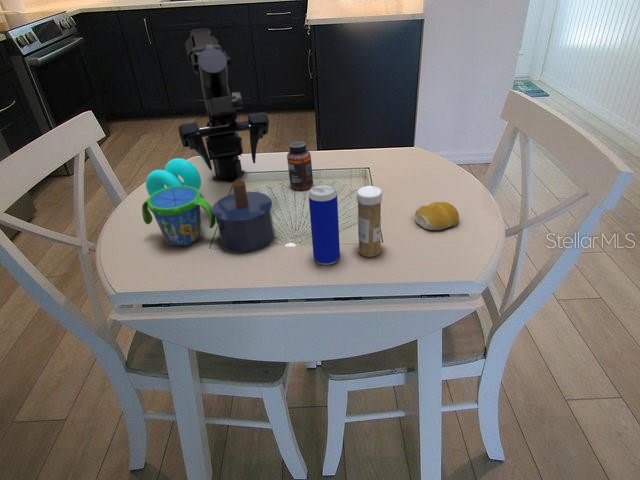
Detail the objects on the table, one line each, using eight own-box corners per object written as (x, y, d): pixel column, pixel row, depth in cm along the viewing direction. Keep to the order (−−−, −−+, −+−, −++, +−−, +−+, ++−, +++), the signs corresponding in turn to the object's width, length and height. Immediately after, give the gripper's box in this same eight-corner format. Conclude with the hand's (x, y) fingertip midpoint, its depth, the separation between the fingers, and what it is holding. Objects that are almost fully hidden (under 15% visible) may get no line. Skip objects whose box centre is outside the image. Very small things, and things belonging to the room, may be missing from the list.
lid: (201, 220, 92) (194, 192, 88) (233, 193, 101) (228, 167, 98) (254, 229, 88) (249, 201, 84) (282, 200, 97) (279, 173, 94)
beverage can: (343, 253, 91) (340, 184, 83) (335, 267, 87) (331, 197, 79) (318, 249, 93) (313, 182, 84) (310, 264, 89) (303, 194, 80)
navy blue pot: (211, 247, 96) (204, 216, 92) (238, 221, 104) (233, 192, 100) (258, 256, 92) (252, 224, 88) (282, 228, 100) (279, 198, 96)
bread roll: (465, 223, 98) (467, 206, 95) (431, 235, 94) (433, 218, 92) (440, 207, 104) (441, 191, 102) (407, 218, 101) (408, 202, 99)
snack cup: (227, 229, 101) (219, 188, 96) (203, 256, 93) (193, 212, 88) (167, 222, 106) (156, 182, 100) (139, 246, 97) (125, 204, 92)
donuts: (149, 208, 112) (138, 170, 107) (174, 190, 120) (165, 154, 114) (183, 213, 109) (173, 175, 103) (206, 195, 116) (198, 158, 111)
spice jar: (384, 255, 89) (385, 194, 82) (361, 259, 89) (361, 197, 81) (376, 243, 93) (377, 183, 86) (355, 247, 93) (353, 187, 85)
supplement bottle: (314, 180, 120) (311, 139, 114) (312, 191, 115) (308, 148, 109) (292, 181, 120) (287, 139, 114) (288, 191, 115) (283, 148, 109)
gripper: (168, 85, 90) (183, 157, 87) (261, 73, 94) (278, 142, 91) (176, 113, 101) (189, 179, 98) (259, 101, 105) (275, 164, 102)
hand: (232, 165), depth 97 cm, fingers open, 9 cm apart
